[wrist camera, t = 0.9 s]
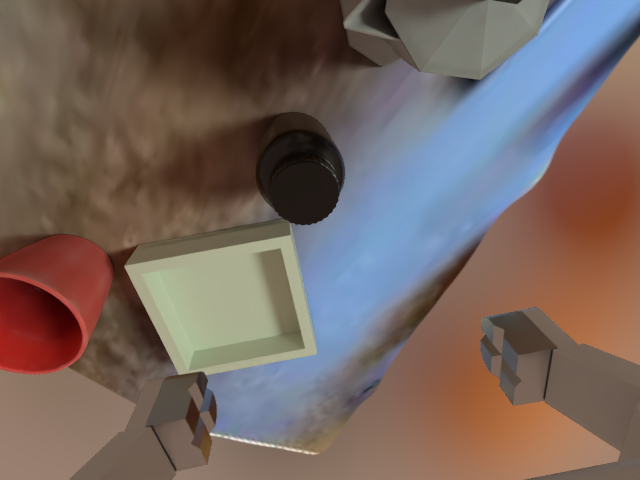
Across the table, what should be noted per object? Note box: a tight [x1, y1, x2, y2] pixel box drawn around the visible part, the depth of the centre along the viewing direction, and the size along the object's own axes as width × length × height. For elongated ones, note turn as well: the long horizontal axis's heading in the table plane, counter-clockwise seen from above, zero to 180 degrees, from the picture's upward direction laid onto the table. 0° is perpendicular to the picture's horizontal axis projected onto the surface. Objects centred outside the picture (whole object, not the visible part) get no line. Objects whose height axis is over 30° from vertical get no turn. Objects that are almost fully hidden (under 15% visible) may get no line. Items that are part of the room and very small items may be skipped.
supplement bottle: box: [256, 112, 345, 225], centre depth 29 cm, size 7×7×12 cm
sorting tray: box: [124, 219, 317, 375], centre depth 40 cm, size 16×16×4 cm
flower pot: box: [0, 234, 114, 374], centre depth 34 cm, size 11×11×10 cm
